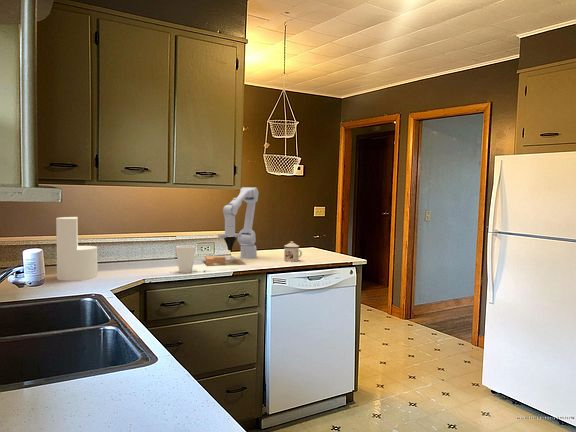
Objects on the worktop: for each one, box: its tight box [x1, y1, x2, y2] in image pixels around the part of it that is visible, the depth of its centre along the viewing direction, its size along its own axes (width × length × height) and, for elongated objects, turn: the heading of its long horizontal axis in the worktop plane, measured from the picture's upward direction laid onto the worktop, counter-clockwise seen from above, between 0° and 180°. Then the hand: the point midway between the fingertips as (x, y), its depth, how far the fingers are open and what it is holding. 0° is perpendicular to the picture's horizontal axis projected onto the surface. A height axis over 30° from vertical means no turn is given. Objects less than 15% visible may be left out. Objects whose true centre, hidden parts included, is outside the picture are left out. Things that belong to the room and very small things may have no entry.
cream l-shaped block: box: [55, 216, 99, 282], centre depth 209 cm, size 17×17×28 cm
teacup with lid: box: [283, 241, 303, 262], centre depth 268 cm, size 12×9×12 cm
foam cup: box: [175, 244, 196, 274], centre depth 227 cm, size 10×9×13 cm
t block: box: [204, 255, 227, 265], centre depth 251 cm, size 10×12×3 cm
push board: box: [201, 258, 247, 267], centre depth 251 cm, size 22×20×1 cm
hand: (229, 250), depth 252 cm, fingers closed
